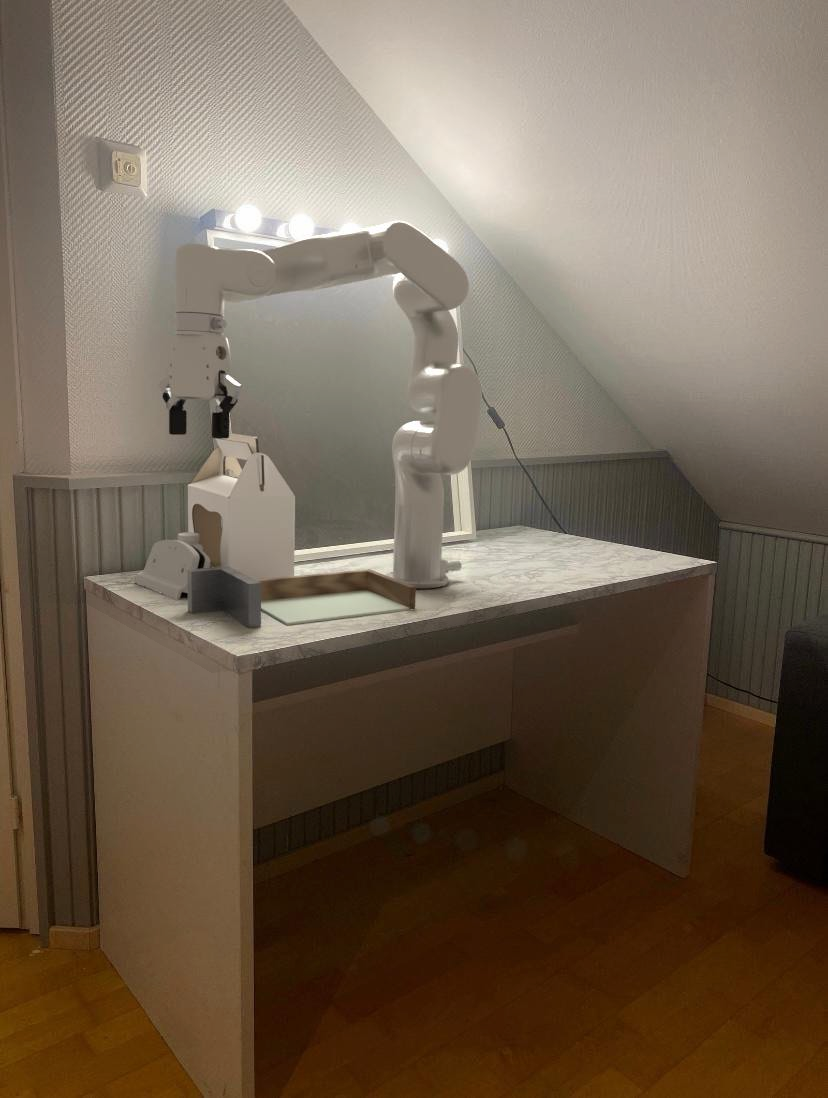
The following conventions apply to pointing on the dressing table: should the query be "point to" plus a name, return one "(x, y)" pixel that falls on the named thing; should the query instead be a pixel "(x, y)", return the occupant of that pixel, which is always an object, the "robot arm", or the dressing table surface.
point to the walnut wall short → (391, 589)
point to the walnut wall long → (313, 584)
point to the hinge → (171, 567)
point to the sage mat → (329, 607)
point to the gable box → (243, 511)
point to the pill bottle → (190, 539)
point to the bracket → (225, 594)
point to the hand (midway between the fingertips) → (198, 436)
